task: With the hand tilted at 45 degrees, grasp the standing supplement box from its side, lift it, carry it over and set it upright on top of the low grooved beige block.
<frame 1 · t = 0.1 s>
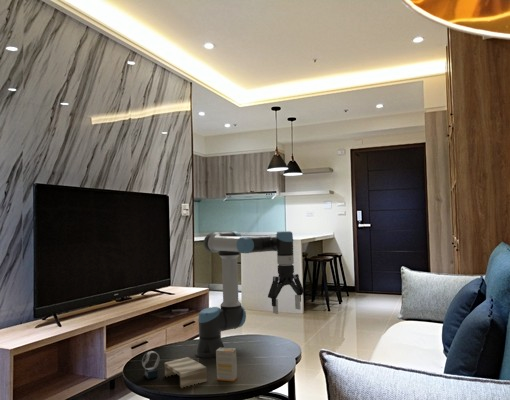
hand: (287, 311, 183), 28 cm above the table, tool pointing down, fingers open, 13 cm apart
supplement box: (227, 379, 177), on the table
watch: (151, 376, 183), on the table
grooved beige block: (185, 378, 179), on the table
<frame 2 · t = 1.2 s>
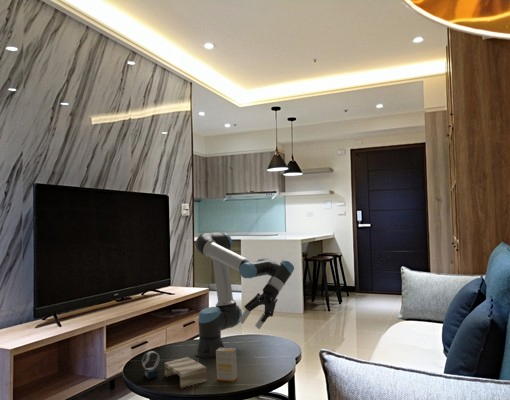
hand: (248, 324, 186), 22 cm above the table, tool tilted 45°, fingers open, 13 cm apart
nothing on the table moved.
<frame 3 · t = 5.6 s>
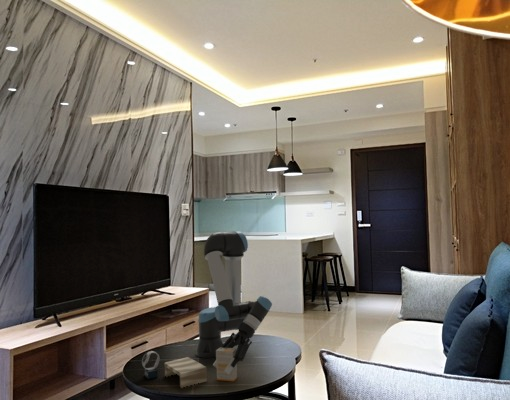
hand: (220, 369, 176), 5 cm above the table, tool tilted 45°, fingers closed on supplement box, 9 cm apart
supplement box: (227, 379, 177), on the table, touching gripper
everything else where it was.
when the fingers open (12 cm above the table, at t = 10.9 s): supplement box drops 1 cm, resting on grooved beige block.
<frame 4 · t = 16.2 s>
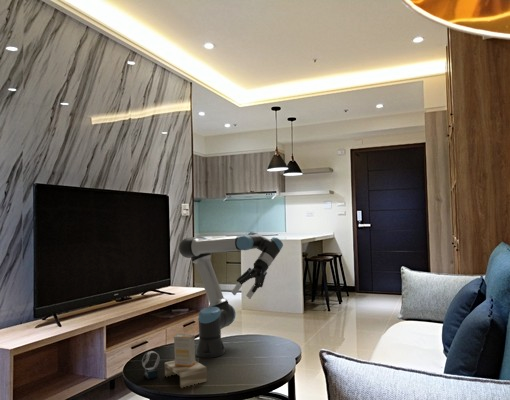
hand: (240, 295, 201), 33 cm above the table, tool tilted 45°, fingers open, 13 cm apart
supplement box: (185, 365, 180), point 6 cm above the table, touching grooved beige block
everything else where it was.
at the end: supplement box inside the target area on the grooved beige block (0.2 cm from its centre), point 5.8 cm above the grooved beige block's base; supplement box tilted 0°; the gripper is holding nothing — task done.
